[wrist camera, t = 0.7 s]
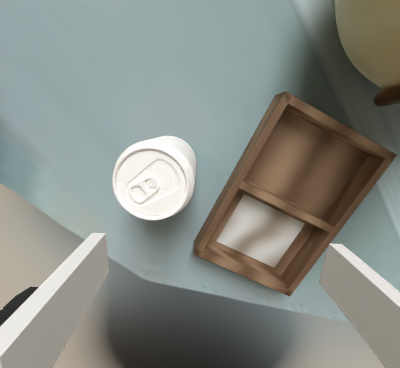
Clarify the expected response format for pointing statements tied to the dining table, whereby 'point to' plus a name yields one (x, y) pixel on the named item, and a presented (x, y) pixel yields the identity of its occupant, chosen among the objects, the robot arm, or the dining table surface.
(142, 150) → the beverage can
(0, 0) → the dining table surface
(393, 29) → the pitcher
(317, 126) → the tray
